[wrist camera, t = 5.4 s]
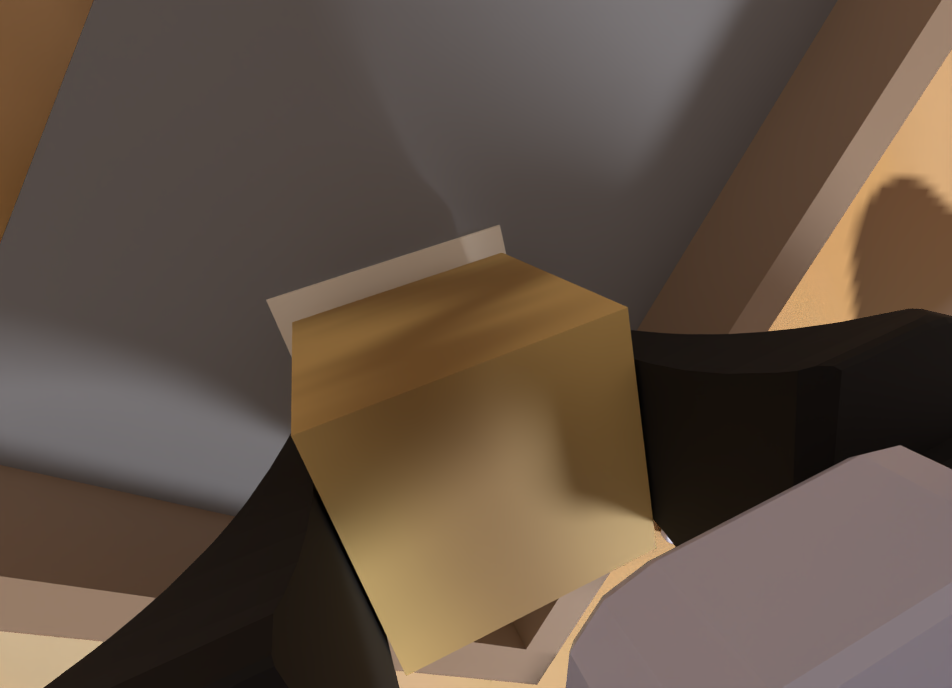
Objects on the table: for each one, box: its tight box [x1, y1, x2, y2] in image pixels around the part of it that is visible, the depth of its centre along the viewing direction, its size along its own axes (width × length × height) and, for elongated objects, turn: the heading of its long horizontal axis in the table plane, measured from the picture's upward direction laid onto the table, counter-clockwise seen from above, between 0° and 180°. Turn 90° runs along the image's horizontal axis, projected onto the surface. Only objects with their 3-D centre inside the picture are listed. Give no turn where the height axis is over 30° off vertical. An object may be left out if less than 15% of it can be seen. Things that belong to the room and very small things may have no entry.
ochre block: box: [291, 253, 656, 676], centre depth 10 cm, size 5×5×5 cm
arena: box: [0, 0, 952, 685], centre depth 11 cm, size 16×24×4 cm, turn 149°
